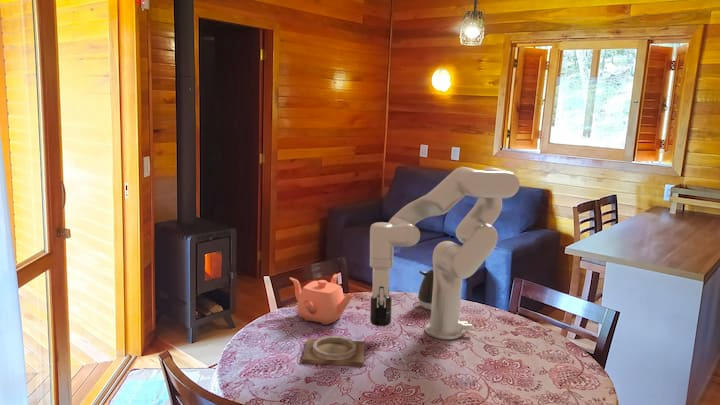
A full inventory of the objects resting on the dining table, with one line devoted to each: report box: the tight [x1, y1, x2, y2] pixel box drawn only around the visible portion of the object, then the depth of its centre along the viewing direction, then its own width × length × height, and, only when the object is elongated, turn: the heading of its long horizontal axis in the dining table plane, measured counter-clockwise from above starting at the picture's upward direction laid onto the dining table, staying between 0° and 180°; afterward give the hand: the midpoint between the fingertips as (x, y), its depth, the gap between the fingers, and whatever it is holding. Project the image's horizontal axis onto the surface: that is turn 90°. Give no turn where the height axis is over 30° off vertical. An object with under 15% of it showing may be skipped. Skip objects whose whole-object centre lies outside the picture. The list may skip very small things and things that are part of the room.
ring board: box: [301, 335, 365, 367], centre depth 163 cm, size 18×14×3 cm
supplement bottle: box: [369, 287, 393, 327], centre depth 174 cm, size 7×7×12 cm
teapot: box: [289, 273, 354, 326], centre depth 189 cm, size 18×18×14 cm
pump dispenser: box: [417, 268, 434, 311], centre depth 203 cm, size 10×10×15 cm
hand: (380, 313), depth 174 cm, fingers closed on supplement bottle, 6 cm apart
